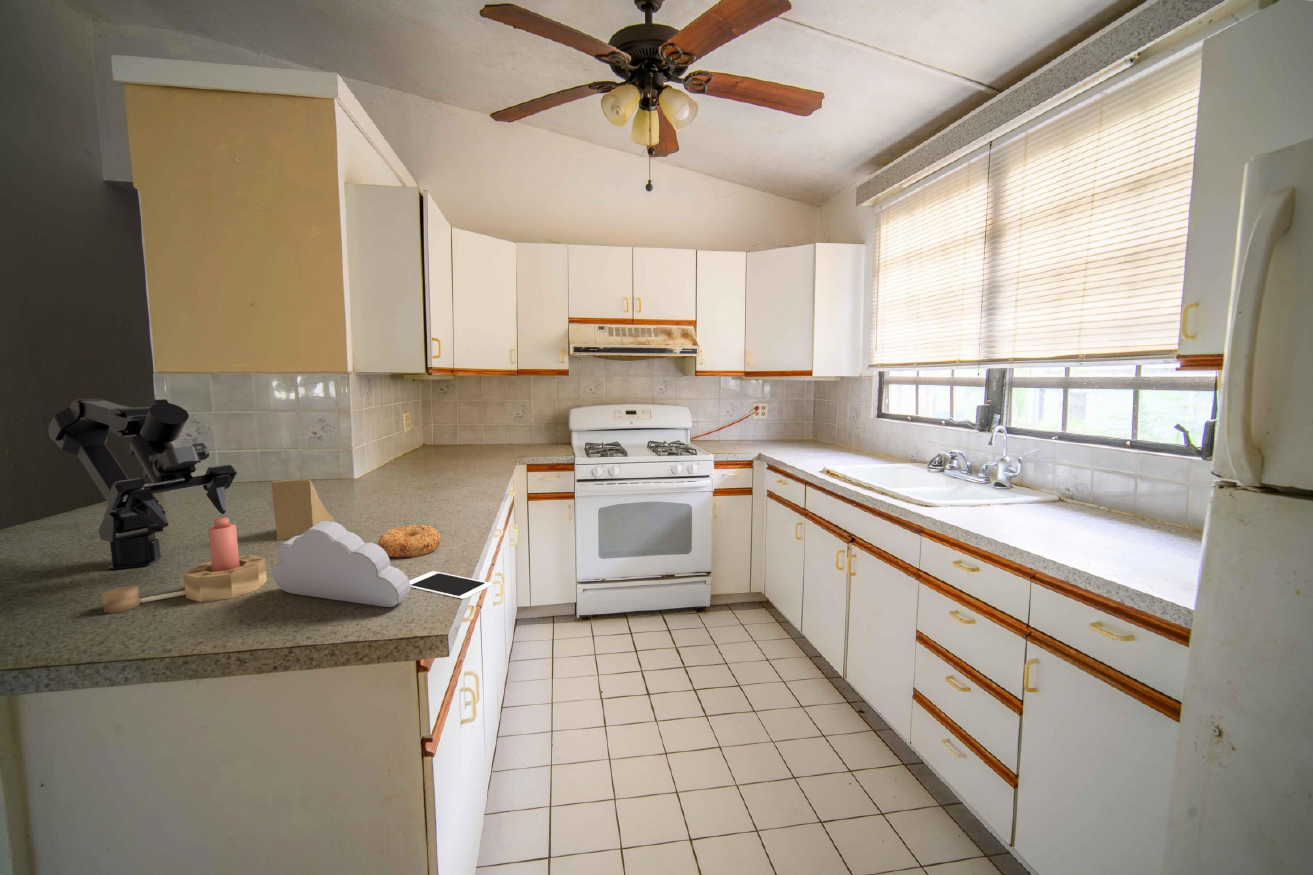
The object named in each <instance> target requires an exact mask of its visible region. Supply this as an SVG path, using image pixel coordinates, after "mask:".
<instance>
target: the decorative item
mask: <svg viewBox="0 0 1313 875" xmlns="http://www.w3.org/2000/svg"><path fill="white" fill-rule="evenodd" d="M377 544H378V543H374V542H365V541H364V539H362V537H360V535H358V534H356V533H355V532H352V531H349V530H348V529H347V528H345V526H344V525H342V524H340V523H339V522H337V521H336V520H334V521H322V522H320V523H318V524H317V525H315V526H313V527H312V528H310V529H308V530H307V531H305V532H304V534H302V535H300V536H295V537H293V538H291V539H289V540H287V541H286V540H285V541H283V543H281V544H280V545H279V546H278V547H277V550H276V555H277V559H278V560H279V562H278V563H276V564H275V565H274V566H273V568H272V570H271V575H272V578H273V580H274V582H275V584H276V585H277V586H278V587H279V588H280V589H281V590H283V591H284V592H286V593H289V594H294V595H299V596H308V597H314V598H322V599H327V600H334V601H342V602H349V603H354V604H355V603H356V604H363V605H368V606H375V607H376V606H377V607H383V608H393V607H395V606H396V605H398V604H400V603H401V602H402V601H403V600H404V599H405V598H407V596H408V595H409V594H410V592H411V589H412V588H411V585H410V579H409V576H407V574H406V573H405V572H404V571H403V569H402V570H401V569H400V568H398V567H396V566H393V565H392V564H391V560H390V557H388V554H387V553H386V551H385V550H384V549H383V548H382V547H381V546H379V545H377Z"/></svg>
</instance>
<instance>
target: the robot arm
mask: <svg viewBox="0 0 1313 875" xmlns="http://www.w3.org/2000/svg"><path fill="white" fill-rule="evenodd" d="M188 419H189V413H188V411H187V410H186V409H185V408H183V407H181V406H179V405H176V404H174V403H170V402H169V401H168V400H167V399H166V398H165V399H163V398H161V399H153V400H152V403H151V406H141V407H139V406H138V407H137V406H136V407H130V406H127V405H123V404H119V403H116V402H115V403H114V402H112V401H108V400H107V399H103V398H81V399H80V398H79V399H76V400H72V401H71V403H70V405H69V407H67V408H66V409H63V410H61V411H60V412H58V413H57V414H54V416H53V417H52V420H51V421H50V423H49V425H48V428H47V431H48V432H47V433H48V436H49V439H50V440H51V441H53V442H54V443H55V444H56V445H57V447H58V448H59V449H60V450H61V451H62V452H65V453H69V454H71V455H74V456H76V457H77V458H78V459H79V461H80V462H81V464H82V465H83V467H84V469H85V470H86V471H87V473H88V474H89V476H90V478H91V479H92V480H93V483H94V484H95V485H96V487H97V489H98V490H99V491H100V493H101V494H102V497H103V498H104V499H105V501H106V502H107V506H106V507H105V508H106V509H105V511H104V515H103V520H102V521H101V523H100V526H99V528H98V534H99V538H100V540H101V541H104V542H109V547H110V556H111V562H112V563H111V564H112V565H110V566H109V567H107V568H108V569H107V570H108V571H111V570H120V569H121V570H122V569H128V568H129V569H130V568H140V567H148V566H150V565H152V564H153V563H154V562H156V561H158V560H159V559H161V558H162V557H163V555H162V554H161V547H160V539H159V538H157V537H156V533H161V532H164V528H167V527H169V520H168V519H167V517H166V511H165V509H164V507H163V506H162V504H160V503H159V500H158V499H157V498H156V497H155V495H154V494H158V493H165V492H169V493H170V492H174V491H180V490H185V489H190V488H191V489H192V488H196V487H197V488H198V487H202V488H203V489H204V491H207V492H206V496H207V498H208V499H209V501H210V502H211V503H212V505H213V506H214V507H215V509H216V510H217V511H218V512H219V513H220V515H224V514H225V513H226V512H227V509H226V497H225V496H226V495H225V491H226V490H227V489H229V488H230V487H231V485H232V484H233V481H234V479H235V478H236V476H237V475H238V472H237V470H236V468H235V467H234V466H233V465H232V464H220V465H215V466H208V468H207V470H206V472H205V473H204V474H203V475H196V476H193V475H192V474H193V473H195V472H196V470H197V468H196V467H197V466H195V465H197V464H199V463H201V462H202V461H205V460H207V458H209V457H210V451H209V448H208V447H207V446H206V445H205V443H204V442H200V443H199V442H198V443H193V444H192V445H190V446H185V447H184V446H183V447H175V446H174V444H173V443H172V442H175V441H176V440H178V439H179V437H180V435H181V433H182V431H183V429H184V427H185V425H186V423H187V421H188ZM110 432H111V433H112V434H114V435H116V436H117V437H118V438H125V437H133V438H132V439H131V441H130V442H129V446H130V448H129V456H136V458H137V460H138V461H139V463H140V465H141V466H142V468H143V470H142V475H143V477H144V478H145V477H146V478H147V477H148V478H149V479H150V483H146V481H145V480H144V478H142V477H136V478H129V477H128V475H127V474H126V473H125V471H124V470H123V468H122V466H121V465H120V463H119V462H118V461H117V459H116V457H115V456H114V455H113V454H112V452H111V450H110V449H109V448H108V446H107V444H106V443H107V439H108V437H109V434H110Z"/></svg>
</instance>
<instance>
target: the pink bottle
mask: <svg viewBox="0 0 1313 875" xmlns="http://www.w3.org/2000/svg"><path fill="white" fill-rule="evenodd" d="M230 522H231V521H230V518H229V517H221V518H215V519H213V525H214V526H210V527H208V539H209V540H208V541H209V551H210V560H211V562H212V572H218V571H227V570H231V569H235V568H238V567H240V564H239V556H240V555H239V544H238V535H237V533H238V532H237V531H238V530H237V524H234V523H230Z"/></svg>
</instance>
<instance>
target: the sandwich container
mask: <svg viewBox="0 0 1313 875" xmlns="http://www.w3.org/2000/svg"><path fill="white" fill-rule="evenodd" d="M271 492H272V494H271V495H272V501H273V511H274V512H273V513H274V522H275V532H276V540H277V541H284V540H285V541H286V540H287V539H291V538H293V537H295V536H300V535H302V534H304V532H305V531H307V530H308V529H310V528H312V527H313V526H315V525H317V524H318V523H320V522H322V521H335V519H334V517H333V516H332V514H331V513H330V512H329V510H328V507H327V506H326V505H325V503H324V502H323V500H322V498H321V497H320V495H319V494H318V492H317V489H316V488H315V486H314V484H313V482H312V480H310V479H307V478H305V479H304V478H303V479H285V480H272V481H271ZM287 541H288V540H287Z"/></svg>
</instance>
